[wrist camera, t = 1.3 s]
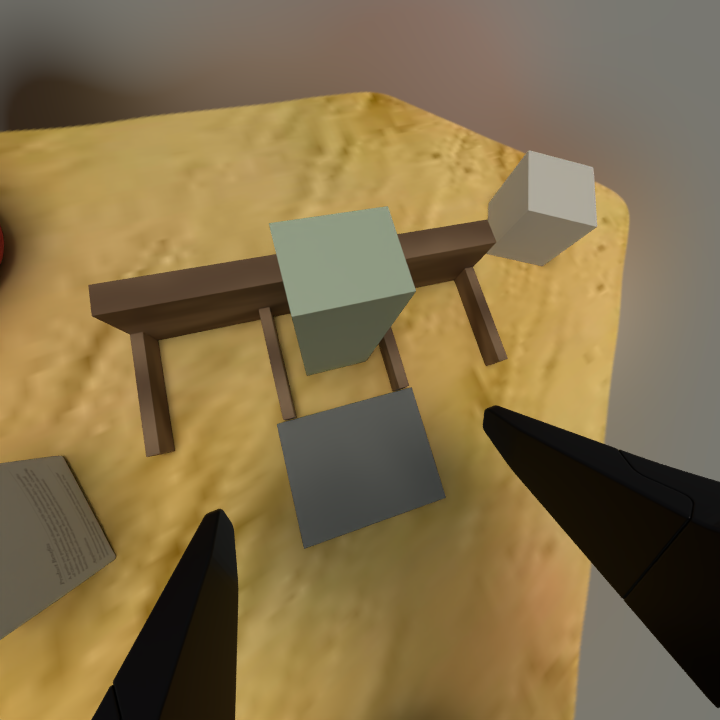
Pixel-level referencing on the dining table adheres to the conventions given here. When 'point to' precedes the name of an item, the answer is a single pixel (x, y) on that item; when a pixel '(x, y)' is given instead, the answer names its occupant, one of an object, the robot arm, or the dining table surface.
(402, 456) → the slate mat
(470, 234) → the lane rack
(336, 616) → the dining table surface
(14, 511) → the skincare box
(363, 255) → the sage block
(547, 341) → the dining table surface
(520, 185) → the light grey cube
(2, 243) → the plant pot
